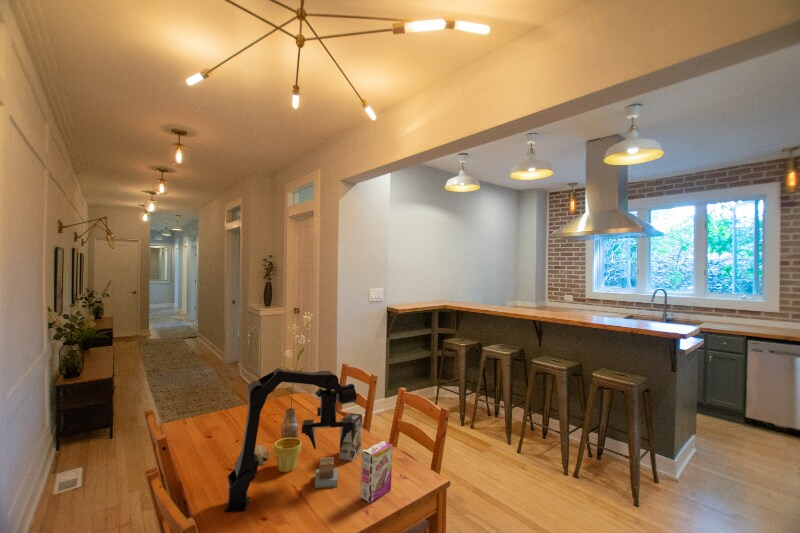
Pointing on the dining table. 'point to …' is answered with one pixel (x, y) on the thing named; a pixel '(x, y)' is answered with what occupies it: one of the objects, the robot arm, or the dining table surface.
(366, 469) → the candy bar box
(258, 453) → the grey rounded lump
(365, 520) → the dining table surface
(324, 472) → the walnut cube
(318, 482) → the plinth
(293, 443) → the plant pot
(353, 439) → the coffee box
